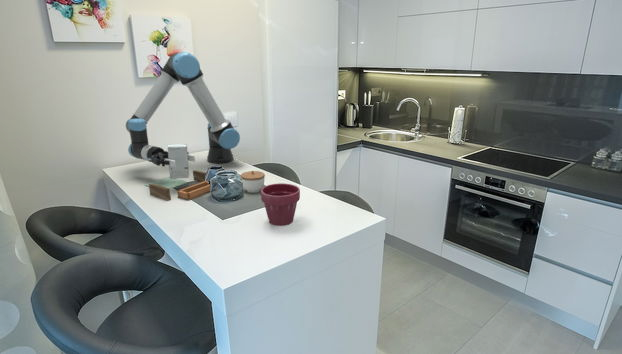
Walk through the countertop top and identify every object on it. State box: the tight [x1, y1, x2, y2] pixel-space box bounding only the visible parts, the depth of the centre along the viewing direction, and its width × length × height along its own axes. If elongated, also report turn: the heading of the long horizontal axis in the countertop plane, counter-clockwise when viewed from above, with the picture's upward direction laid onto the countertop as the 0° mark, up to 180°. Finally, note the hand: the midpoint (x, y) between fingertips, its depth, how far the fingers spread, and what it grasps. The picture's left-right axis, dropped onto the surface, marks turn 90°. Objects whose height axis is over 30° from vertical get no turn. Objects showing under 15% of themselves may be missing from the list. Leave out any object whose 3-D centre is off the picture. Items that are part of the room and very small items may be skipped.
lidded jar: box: [240, 170, 266, 193], centre depth 160 cm, size 11×11×9 cm
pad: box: [144, 176, 189, 190], centre depth 168 cm, size 14×14×1 cm
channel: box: [148, 169, 207, 201], centre depth 161 cm, size 26×12×5 cm, turn 148°
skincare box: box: [167, 143, 190, 179], centre depth 158 cm, size 8×6×15 cm
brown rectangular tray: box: [176, 181, 211, 201], centre depth 157 cm, size 16×6×3 cm, turn 148°
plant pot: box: [260, 183, 301, 227], centre depth 129 cm, size 14×14×13 cm
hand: (185, 161), depth 156 cm, fingers closed on skincare box, 9 cm apart
